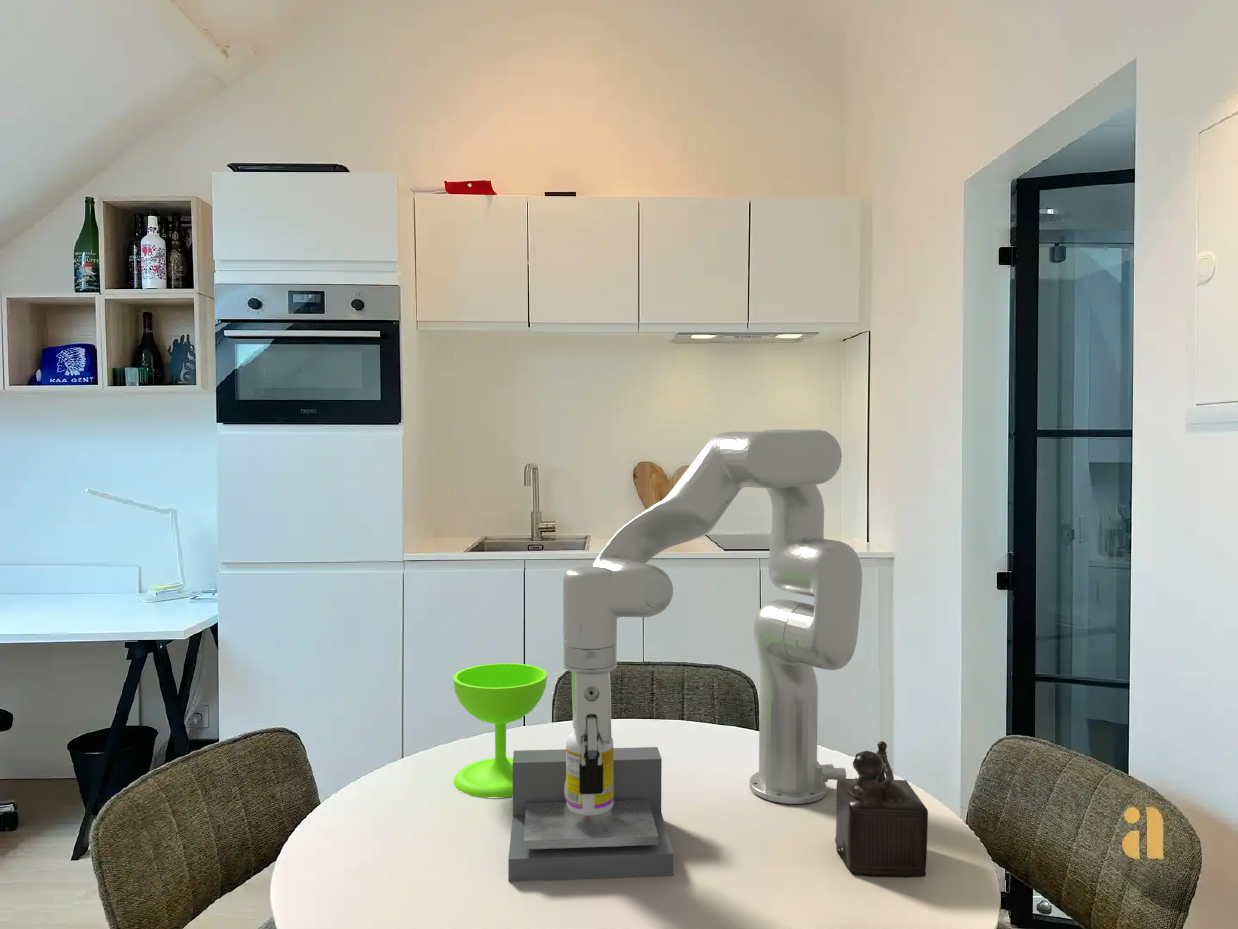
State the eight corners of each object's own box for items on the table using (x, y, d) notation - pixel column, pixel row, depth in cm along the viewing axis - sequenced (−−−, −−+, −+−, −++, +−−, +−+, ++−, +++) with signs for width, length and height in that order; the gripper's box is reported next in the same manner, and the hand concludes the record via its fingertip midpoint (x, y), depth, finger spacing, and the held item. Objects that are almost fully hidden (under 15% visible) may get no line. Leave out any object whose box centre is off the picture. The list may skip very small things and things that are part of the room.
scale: (657, 817, 136) (657, 747, 136) (673, 875, 118) (673, 794, 118) (514, 822, 135) (513, 750, 134) (508, 881, 117) (508, 799, 116)
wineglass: (475, 806, 140) (475, 694, 140) (439, 773, 154) (438, 671, 153) (563, 785, 149) (563, 679, 148) (522, 755, 162) (522, 659, 162)
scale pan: (648, 807, 130) (648, 799, 130) (658, 844, 118) (658, 836, 118) (526, 811, 129) (526, 803, 129) (523, 849, 117) (523, 840, 117)
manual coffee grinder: (829, 840, 129) (830, 718, 128) (906, 842, 128) (907, 719, 128) (854, 896, 113) (855, 757, 113) (941, 898, 113) (943, 759, 112)
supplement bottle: (616, 798, 127) (616, 710, 126) (611, 818, 120) (611, 725, 120) (569, 796, 127) (569, 708, 127) (562, 816, 121) (562, 723, 120)
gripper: (621, 672, 115) (621, 807, 115) (612, 641, 132) (612, 759, 133) (564, 673, 114) (564, 809, 115) (562, 642, 131) (562, 760, 132)
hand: (590, 781), depth 124 cm, fingers closed on supplement bottle, 6 cm apart
